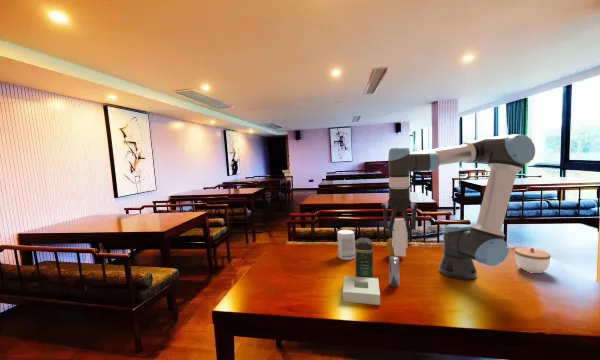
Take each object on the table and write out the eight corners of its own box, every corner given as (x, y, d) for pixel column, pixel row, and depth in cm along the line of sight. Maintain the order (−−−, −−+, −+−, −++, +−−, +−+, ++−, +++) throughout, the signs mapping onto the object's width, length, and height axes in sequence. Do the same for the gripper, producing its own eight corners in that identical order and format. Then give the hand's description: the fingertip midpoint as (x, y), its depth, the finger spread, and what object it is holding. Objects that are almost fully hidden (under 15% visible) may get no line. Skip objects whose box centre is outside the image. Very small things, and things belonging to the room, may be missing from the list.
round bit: (398, 282, 116) (398, 256, 115) (399, 286, 112) (399, 259, 111) (389, 281, 117) (389, 255, 116) (390, 286, 113) (389, 259, 112)
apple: (384, 253, 151) (384, 234, 150) (402, 254, 150) (402, 234, 149) (388, 260, 142) (387, 239, 141) (406, 260, 140) (406, 239, 139)
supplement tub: (358, 256, 148) (358, 231, 147) (348, 261, 141) (348, 235, 140) (344, 253, 155) (343, 228, 154) (334, 257, 148) (333, 232, 147)
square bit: (404, 252, 105) (404, 218, 104) (405, 256, 101) (405, 220, 100) (393, 252, 106) (393, 218, 105) (394, 255, 102) (394, 220, 101)
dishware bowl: (548, 279, 114) (549, 254, 113) (511, 270, 124) (512, 248, 123) (551, 270, 122) (552, 247, 122) (517, 263, 132) (517, 242, 131)
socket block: (378, 287, 112) (378, 278, 112) (380, 305, 99) (380, 294, 98) (345, 284, 116) (345, 275, 115) (342, 301, 102) (342, 291, 102)
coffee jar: (373, 284, 115) (373, 243, 114) (355, 282, 117) (354, 242, 116) (372, 274, 125) (372, 236, 123) (356, 273, 127) (355, 236, 125)
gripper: (420, 186, 103) (421, 244, 105) (375, 186, 107) (376, 242, 109) (425, 188, 96) (425, 250, 97) (376, 189, 100) (377, 248, 101)
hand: (399, 246), depth 103 cm, fingers closed on square bit, 4 cm apart
